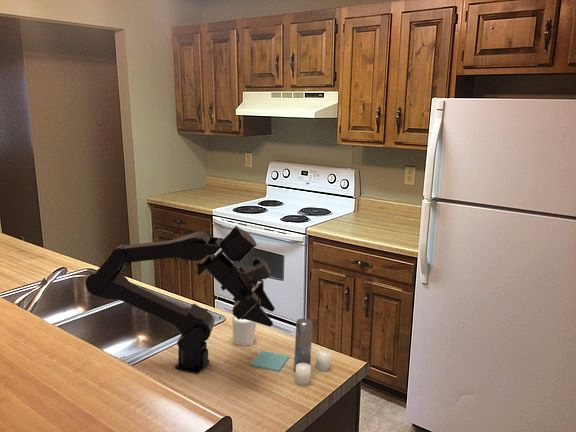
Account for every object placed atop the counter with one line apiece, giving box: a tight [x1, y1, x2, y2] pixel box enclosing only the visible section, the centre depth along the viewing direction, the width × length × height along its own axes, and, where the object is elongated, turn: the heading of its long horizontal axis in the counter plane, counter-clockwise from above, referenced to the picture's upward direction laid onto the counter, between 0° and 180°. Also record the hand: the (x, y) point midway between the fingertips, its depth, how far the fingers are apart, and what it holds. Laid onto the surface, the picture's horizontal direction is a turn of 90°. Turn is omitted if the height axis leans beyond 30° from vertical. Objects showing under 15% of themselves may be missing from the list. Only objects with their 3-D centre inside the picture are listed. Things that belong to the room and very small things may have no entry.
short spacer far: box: [315, 349, 332, 372], centre depth 124 cm, size 4×4×4 cm
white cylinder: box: [231, 315, 257, 347], centre depth 137 cm, size 7×7×7 cm
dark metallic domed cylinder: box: [293, 318, 314, 373], centre depth 122 cm, size 4×4×13 cm
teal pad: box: [249, 350, 290, 372], centre depth 127 cm, size 8×8×1 cm
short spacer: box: [294, 363, 312, 387], centre depth 117 cm, size 4×4×4 cm
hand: (272, 317), depth 120 cm, fingers open, 9 cm apart
